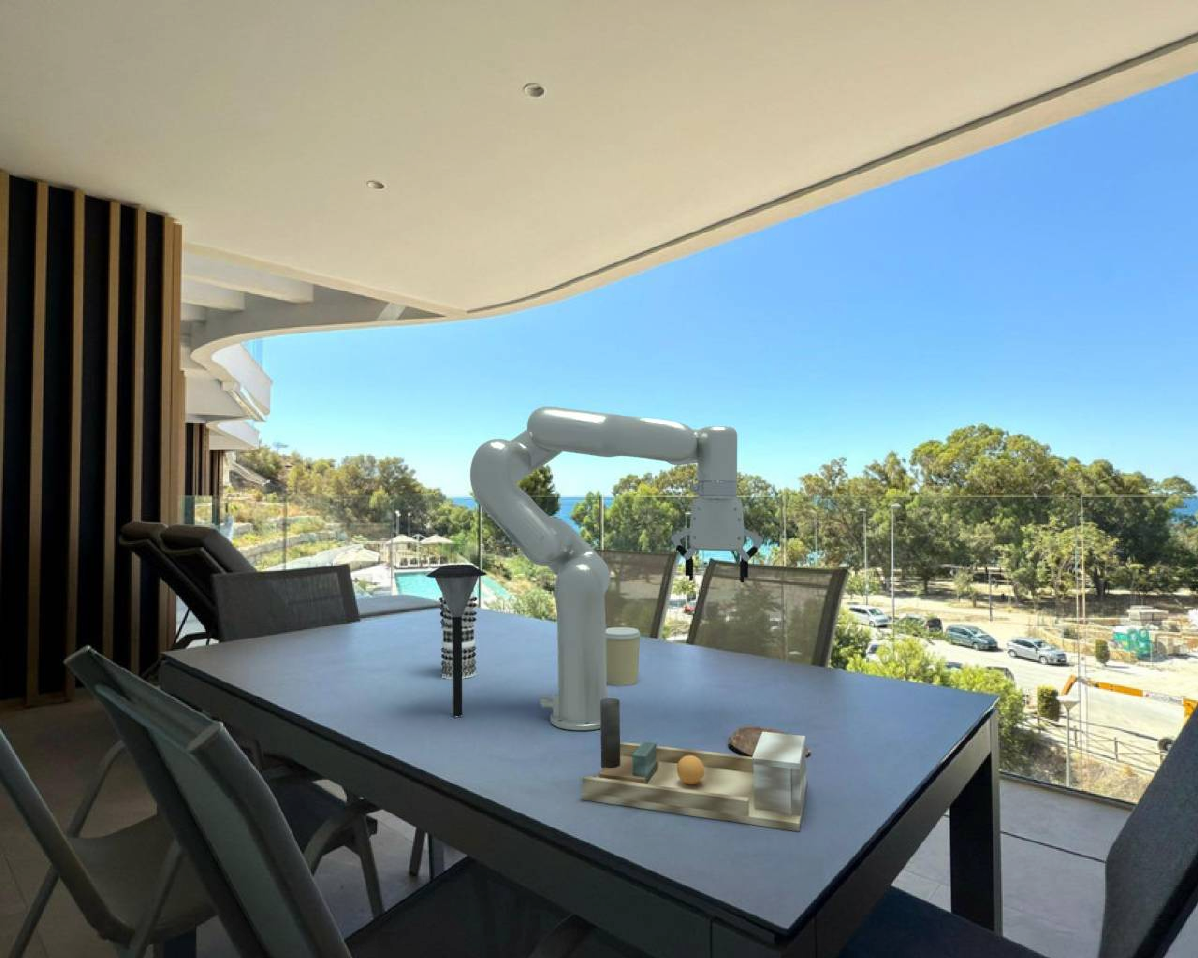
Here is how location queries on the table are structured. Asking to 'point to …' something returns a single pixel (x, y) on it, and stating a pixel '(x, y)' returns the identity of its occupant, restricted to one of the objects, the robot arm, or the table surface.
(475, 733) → the table surface
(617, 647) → the coffee cup
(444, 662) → the decorative candle
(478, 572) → the solar garden light
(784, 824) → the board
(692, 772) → the ball
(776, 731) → the shell
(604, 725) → the kicker
